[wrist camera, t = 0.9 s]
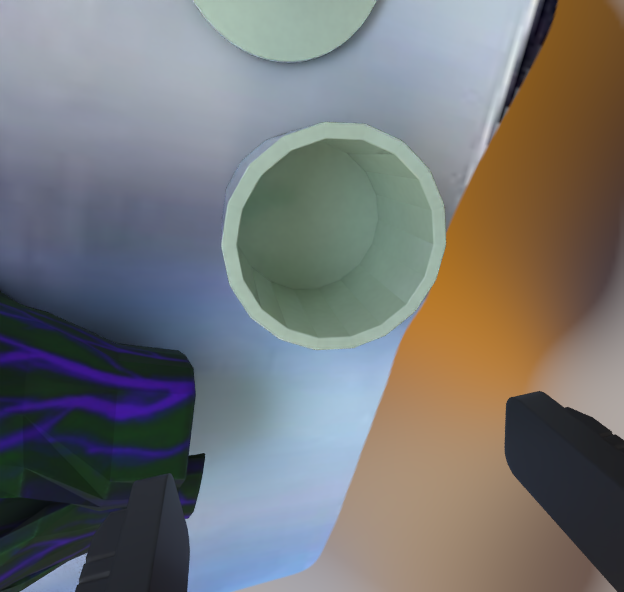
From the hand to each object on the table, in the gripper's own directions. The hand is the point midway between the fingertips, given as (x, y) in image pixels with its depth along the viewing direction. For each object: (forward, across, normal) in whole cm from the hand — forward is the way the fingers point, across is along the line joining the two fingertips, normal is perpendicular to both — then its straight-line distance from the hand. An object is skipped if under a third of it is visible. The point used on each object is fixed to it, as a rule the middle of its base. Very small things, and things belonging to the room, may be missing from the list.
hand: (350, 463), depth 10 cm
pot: (+26, -4, -1) cm, 26 cm away
